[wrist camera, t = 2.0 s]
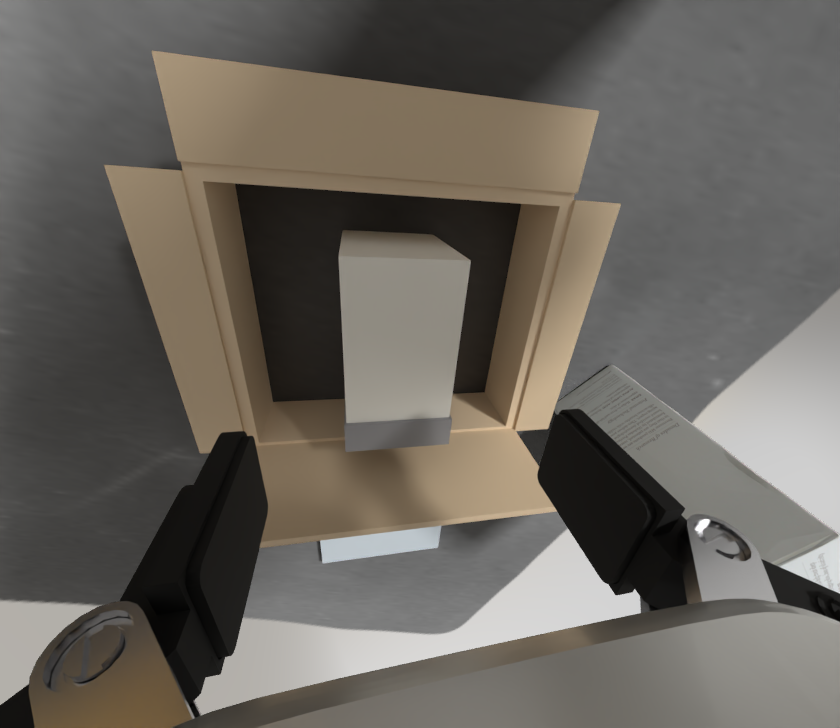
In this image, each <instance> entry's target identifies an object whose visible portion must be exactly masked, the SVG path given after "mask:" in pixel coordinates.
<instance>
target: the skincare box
mask: <svg viewBox="0 0 840 728" xmlns="http://www.w3.org/2000/svg"><path fill="white" fill-rule="evenodd" d="M565 409H581V410H582V411H584V412H585V413H586V414H587V415H588V416H589V417H590V418H591V419H592V420H593V421H594V422H595V423H596V424H597V425H598V426H599V427H600V428H601V429H602V430H603V431H605V432H606V433H607V434H608V435H609V436H610V437H611V438H612V439H613V440H614V441H615V442H616V443H617V444H618V445H619V446H620V447H621V448H622V449H623V450H625V451H626V452H627V453H628V454H629V455H630V456H631V457H632V458H633V459H634V460H635V461H636V462H637V463H638V464H639V465H640V466H641V467H642V468H643V469H645V470H646V471H647V472H648V473H649V474H650V475H651V476H652V477H653V478H654V479H655V480H656V481H657V482H658V483H659V484H660V485H661V486H662V487H663V488H664V489H666V490H667V491H668V492H669V493H670V494H671V495H672V496H673V497H674V498H675V499H676V500H677V501H678V502H679V503H680V504H681V505H682V506H683V507H684V508H685V510H684V512H683V513H682V516H683V517H684V518H685V519H686V520H687V519H688V518H689V517H690V516H691V515H694V514H706V515H709V516H713V517H716V518H718V519H720V520H722V521H725V522H727V523H728V524H730V525H731V526H733V527H735V528H736V529H738V530H739V531H740V532H741V533H742V534H744V535H745V536H746V537H747V538H748V539H749V540H750V541H751V542H752V543H753V544H754V546H755V548H756V549H757V551H758V553H759V555H760V557H761V559H763V560H765V561H767V562H770V563H772V564H774V565H776V566H779V567H781V568H783V569H785V570H788V571H790V572H792V573H794V574H797V575H799V576H801V577H803V578H806V579H808V580H810V581H812V582H815V583H817V584H819V585H821V586H824V587H826V588H828V589H830V590H833V591H835V592H837V593H839V594H840V534H839V533H838V532H836V531H835V530H833V529H832V528H831V527H829V526H828V525H826V524H825V523H824V522H822V521H821V520H819V519H818V518H817V517H815V516H814V515H813V514H811V513H810V512H809V511H807V510H806V509H805V508H803V507H802V506H801V505H799V504H798V503H797V502H795V501H794V500H793V499H791V498H790V497H789V496H787V495H786V494H785V493H783V492H782V491H781V490H779V489H778V488H776V487H775V486H773V485H772V484H771V483H769V482H768V481H767V480H765V479H764V478H762V477H761V476H759V475H758V474H757V473H756V472H754V471H753V470H752V469H750V468H749V467H748V466H746V465H745V464H744V463H743V462H741V461H740V460H739V459H738V458H736V457H735V456H733V455H732V454H731V453H730V452H729V451H728V450H726V449H725V448H724V447H722V446H721V445H720V444H718V443H717V442H716V441H714V440H713V439H712V438H710V437H709V436H708V435H706V434H705V433H704V432H703V431H701V430H700V429H698V428H697V427H696V426H694V425H693V424H692V423H690V422H689V421H688V420H686V419H685V418H684V417H682V416H681V415H680V414H679V413H677V412H676V411H675V410H673V409H672V408H670V407H669V406H668V405H666V404H665V403H664V402H662V401H661V400H660V399H658V398H657V397H656V396H655V395H653V394H652V393H650V392H649V391H648V390H646V389H645V388H644V387H642V386H641V385H640V384H638V383H637V382H636V381H635V380H633V379H632V378H631V377H629V376H628V375H626V374H625V373H624V372H622V371H621V370H620V369H618V368H617V367H616V366H614V365H610V366H608V367H607V368H605V369H604V370H602V371H601V372H599V373H598V374H596V375H595V376H594V377H592V378H591V379H589V380H588V381H587V382H585V383H584V384H582V385H581V386H579V387H578V388H577V389H575V390H574V391H572V392H571V393H569V394H568V395H566V396H565V397H564V398H562V399H561V400H559V401H558V402H557V403H556V406H555V409H554V411H555V413H556V414H557V415H558V414H559V412H560V411H561V410H565Z"/></svg>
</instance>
